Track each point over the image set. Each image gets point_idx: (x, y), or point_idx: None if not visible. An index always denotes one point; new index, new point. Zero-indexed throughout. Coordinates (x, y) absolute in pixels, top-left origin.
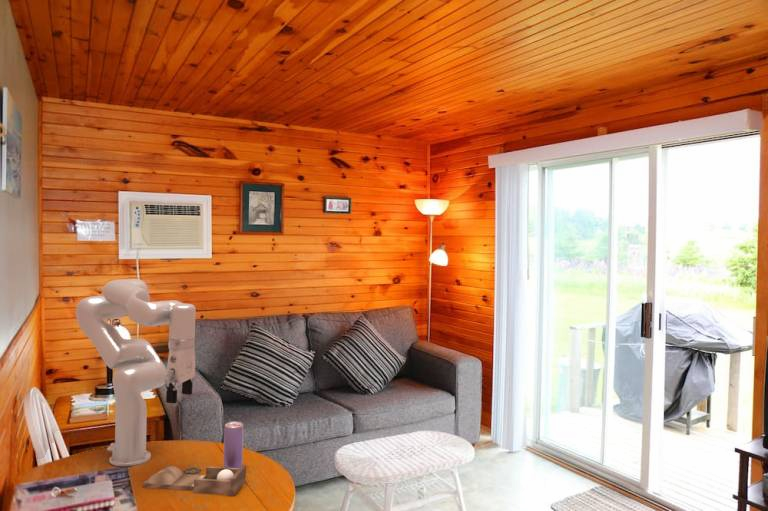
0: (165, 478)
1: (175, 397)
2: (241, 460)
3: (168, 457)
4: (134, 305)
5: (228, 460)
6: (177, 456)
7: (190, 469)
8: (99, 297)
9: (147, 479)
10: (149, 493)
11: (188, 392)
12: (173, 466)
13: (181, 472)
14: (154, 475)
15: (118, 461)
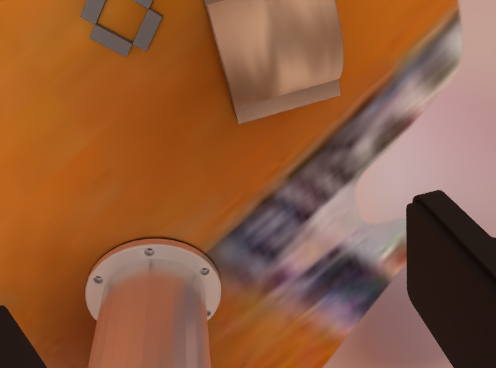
0: (334, 5)
1: (484, 243)
2: None
3: (62, 207)
4: None
5: None
6: (32, 187)
7: (115, 35)
8: None
9: (307, 103)
10: (367, 31)
11: (8, 345)
12: (228, 55)
13: (213, 11)
14: (321, 74)
15: (209, 292)
